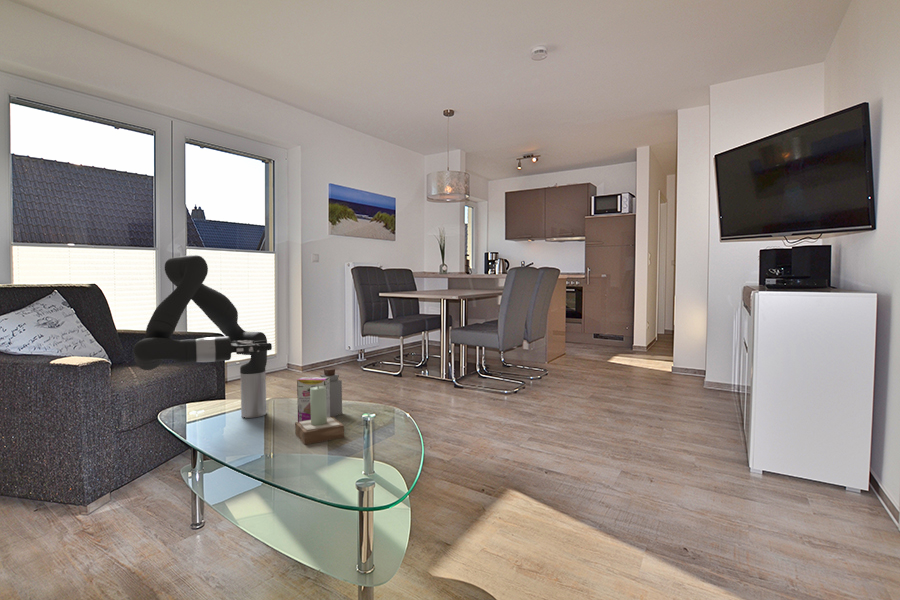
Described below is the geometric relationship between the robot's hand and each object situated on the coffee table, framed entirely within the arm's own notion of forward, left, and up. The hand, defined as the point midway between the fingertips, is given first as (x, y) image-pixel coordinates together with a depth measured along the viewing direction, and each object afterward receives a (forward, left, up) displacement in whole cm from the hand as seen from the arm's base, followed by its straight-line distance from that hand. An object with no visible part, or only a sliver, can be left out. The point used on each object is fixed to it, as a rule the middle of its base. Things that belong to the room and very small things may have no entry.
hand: (269, 345), depth 147 cm
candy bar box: (-16, +18, -32) cm, 40 cm away
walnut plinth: (+2, +15, -32) cm, 35 cm away
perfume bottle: (-22, +26, -32) cm, 47 cm away
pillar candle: (+2, +15, -28) cm, 31 cm away
